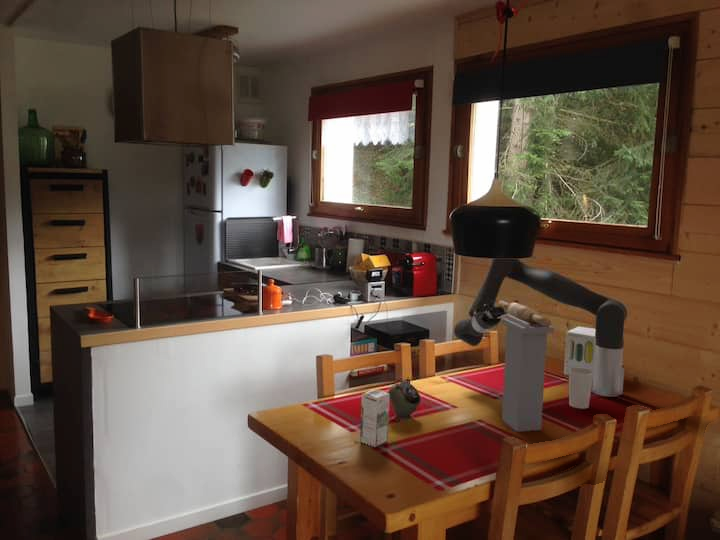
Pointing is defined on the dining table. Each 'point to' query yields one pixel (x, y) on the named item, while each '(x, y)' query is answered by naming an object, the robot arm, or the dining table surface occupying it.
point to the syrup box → (374, 417)
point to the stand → (524, 373)
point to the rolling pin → (524, 313)
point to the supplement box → (580, 349)
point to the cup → (580, 387)
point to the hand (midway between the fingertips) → (505, 303)
